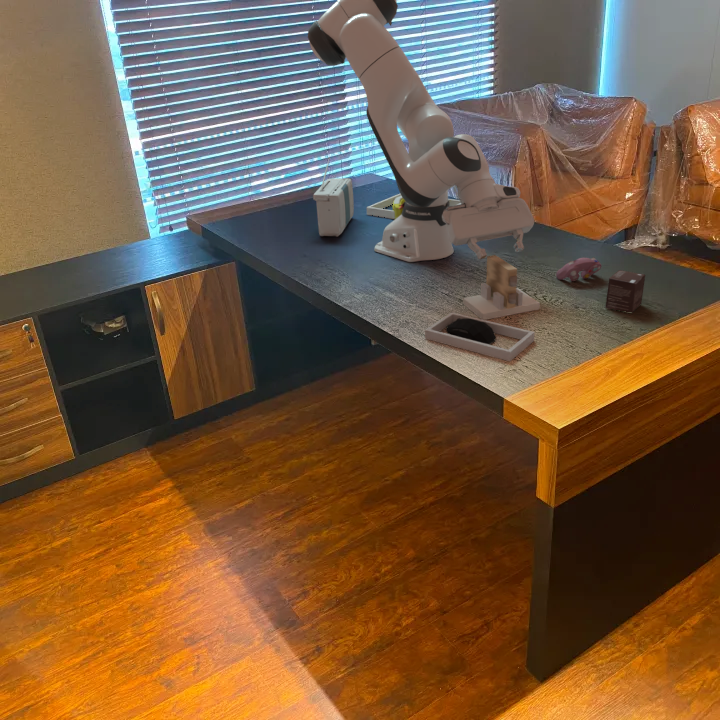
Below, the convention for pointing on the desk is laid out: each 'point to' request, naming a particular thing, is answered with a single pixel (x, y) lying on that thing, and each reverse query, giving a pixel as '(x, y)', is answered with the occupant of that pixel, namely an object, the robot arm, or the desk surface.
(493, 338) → the gaming mouse
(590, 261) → the video game controller
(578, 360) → the desk surface
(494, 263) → the tan upright panel
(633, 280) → the box
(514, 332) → the mouse tray
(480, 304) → the white slotted stand
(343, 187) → the stereo radio cassette player
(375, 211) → the white rectangular tray
